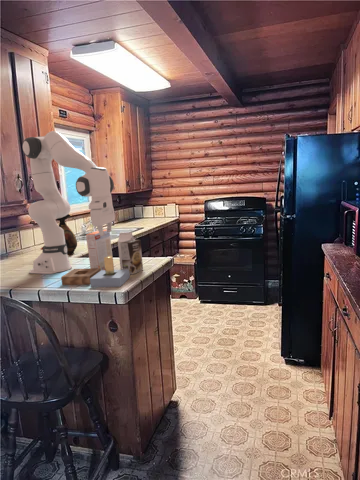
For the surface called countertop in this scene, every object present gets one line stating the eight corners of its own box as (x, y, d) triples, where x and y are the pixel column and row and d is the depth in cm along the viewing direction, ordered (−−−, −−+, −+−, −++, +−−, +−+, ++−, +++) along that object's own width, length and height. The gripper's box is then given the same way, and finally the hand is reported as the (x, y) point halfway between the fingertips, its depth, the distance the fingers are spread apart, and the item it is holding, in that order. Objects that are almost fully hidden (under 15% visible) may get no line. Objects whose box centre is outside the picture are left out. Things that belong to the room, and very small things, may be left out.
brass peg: (105, 283, 162) (102, 258, 160) (108, 280, 166) (105, 256, 164) (113, 283, 162) (110, 258, 159) (116, 280, 166) (113, 256, 163)
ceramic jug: (76, 251, 245) (71, 208, 240) (79, 254, 231) (74, 209, 226) (51, 254, 238) (45, 210, 233) (52, 258, 224) (46, 212, 219)
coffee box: (132, 274, 174) (129, 243, 171) (122, 273, 177) (119, 242, 174) (143, 270, 182) (141, 239, 179) (134, 268, 185) (131, 239, 182)
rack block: (62, 285, 165) (61, 276, 164) (75, 276, 178) (74, 268, 177) (90, 284, 162) (89, 276, 162) (101, 275, 176) (100, 268, 175)
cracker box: (104, 266, 196) (100, 229, 192) (114, 266, 194) (110, 229, 190) (90, 273, 183) (85, 233, 179) (99, 273, 181) (95, 233, 177)
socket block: (90, 287, 158) (89, 278, 157) (102, 278, 172) (101, 270, 171) (120, 286, 156) (119, 277, 155) (129, 277, 170) (128, 269, 169)
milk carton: (133, 269, 185) (129, 233, 181) (120, 269, 186) (116, 234, 183) (137, 265, 192) (134, 231, 188) (125, 265, 193) (121, 231, 190)
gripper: (104, 201, 168) (107, 230, 170) (86, 205, 148) (90, 237, 150) (116, 201, 167) (119, 229, 169) (100, 204, 147) (104, 237, 149)
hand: (105, 233), depth 160 cm, fingers open, 8 cm apart
